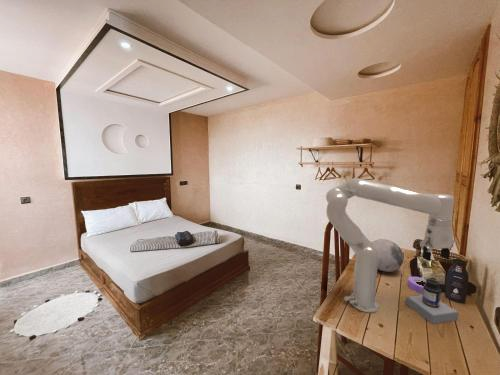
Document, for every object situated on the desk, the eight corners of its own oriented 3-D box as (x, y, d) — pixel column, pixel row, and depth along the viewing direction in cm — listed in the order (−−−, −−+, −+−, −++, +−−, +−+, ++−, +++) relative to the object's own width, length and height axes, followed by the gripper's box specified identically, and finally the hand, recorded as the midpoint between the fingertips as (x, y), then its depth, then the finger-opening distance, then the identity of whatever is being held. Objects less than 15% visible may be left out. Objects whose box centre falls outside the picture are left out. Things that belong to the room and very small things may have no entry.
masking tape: (417, 280, 122) (417, 274, 121) (440, 292, 111) (441, 286, 110) (402, 284, 118) (403, 278, 118) (425, 297, 107) (426, 290, 107)
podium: (432, 324, 89) (433, 315, 89) (405, 303, 102) (406, 296, 102) (457, 320, 91) (458, 311, 91) (428, 300, 104) (429, 293, 104)
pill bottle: (431, 299, 99) (433, 277, 98) (443, 308, 93) (445, 285, 92) (418, 299, 99) (420, 278, 98) (430, 308, 93) (432, 285, 92)
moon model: (369, 275, 128) (371, 244, 125) (363, 260, 147) (364, 233, 144) (407, 280, 122) (410, 248, 119) (395, 264, 140) (398, 236, 138)
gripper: (431, 225, 86) (427, 264, 88) (465, 223, 89) (461, 261, 91) (414, 220, 94) (411, 256, 96) (446, 218, 96) (442, 253, 98)
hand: (435, 258), depth 93 cm, fingers open, 9 cm apart
